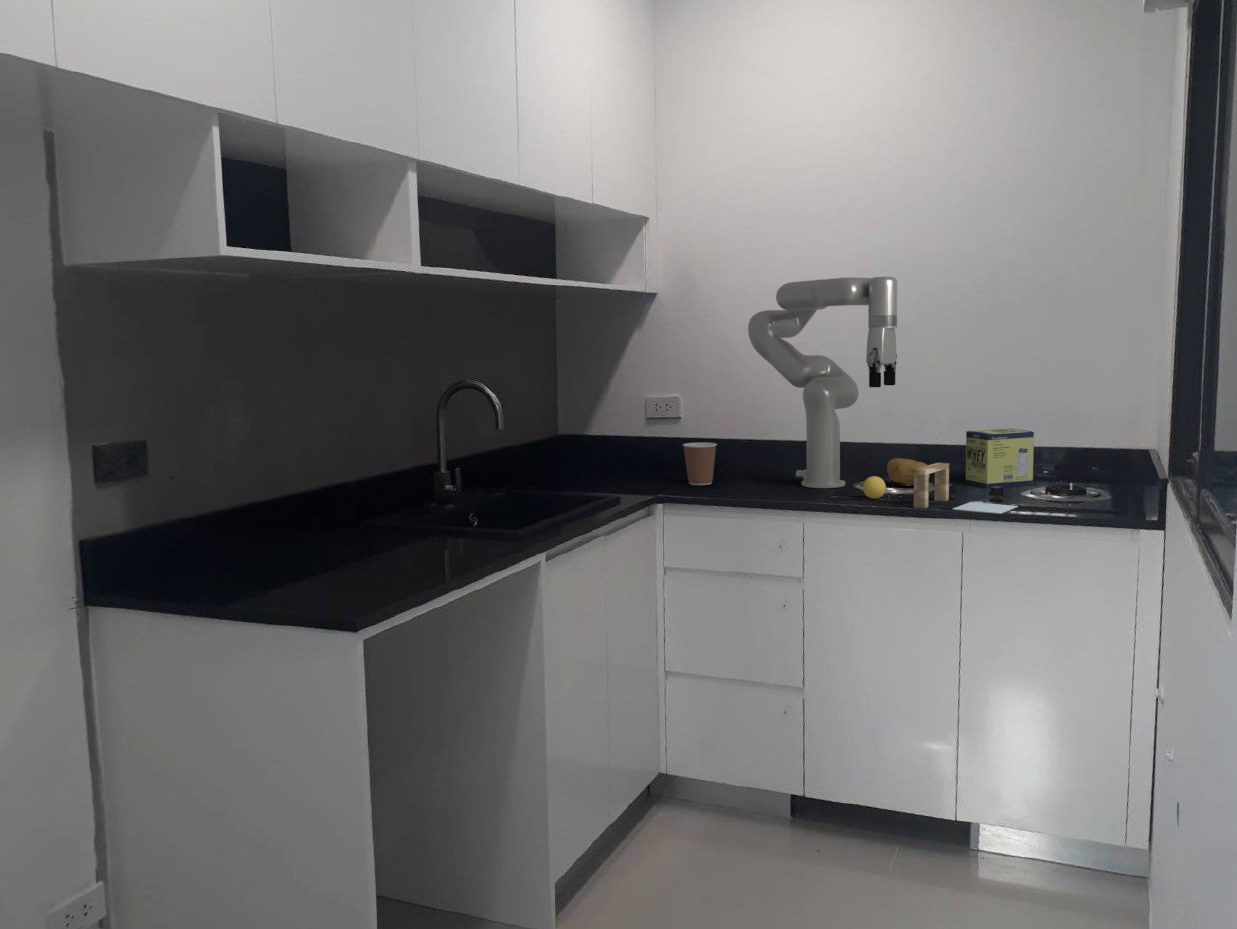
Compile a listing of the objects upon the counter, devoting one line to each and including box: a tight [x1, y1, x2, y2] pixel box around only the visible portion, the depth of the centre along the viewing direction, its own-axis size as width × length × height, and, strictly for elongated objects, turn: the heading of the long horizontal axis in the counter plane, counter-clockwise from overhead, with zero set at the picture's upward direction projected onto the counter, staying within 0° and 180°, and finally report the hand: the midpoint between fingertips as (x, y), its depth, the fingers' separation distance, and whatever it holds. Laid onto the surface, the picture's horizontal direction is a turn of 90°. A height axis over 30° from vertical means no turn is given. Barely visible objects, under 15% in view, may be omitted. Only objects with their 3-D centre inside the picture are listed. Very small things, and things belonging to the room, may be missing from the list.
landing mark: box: [951, 501, 1018, 515], centre depth 261 cm, size 12×12×1 cm
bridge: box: [913, 462, 950, 509], centre depth 269 cm, size 3×15×10 cm, turn 140°
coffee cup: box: [682, 442, 718, 486], centre depth 316 cm, size 10×10×12 cm
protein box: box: [965, 428, 1035, 490], centre depth 297 cm, size 10×16×16 cm
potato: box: [886, 457, 931, 485], centre depth 298 cm, size 10×14×8 cm
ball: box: [862, 475, 887, 500], centre depth 280 cm, size 6×6×6 cm
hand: (882, 386), depth 285 cm, fingers open, 9 cm apart
